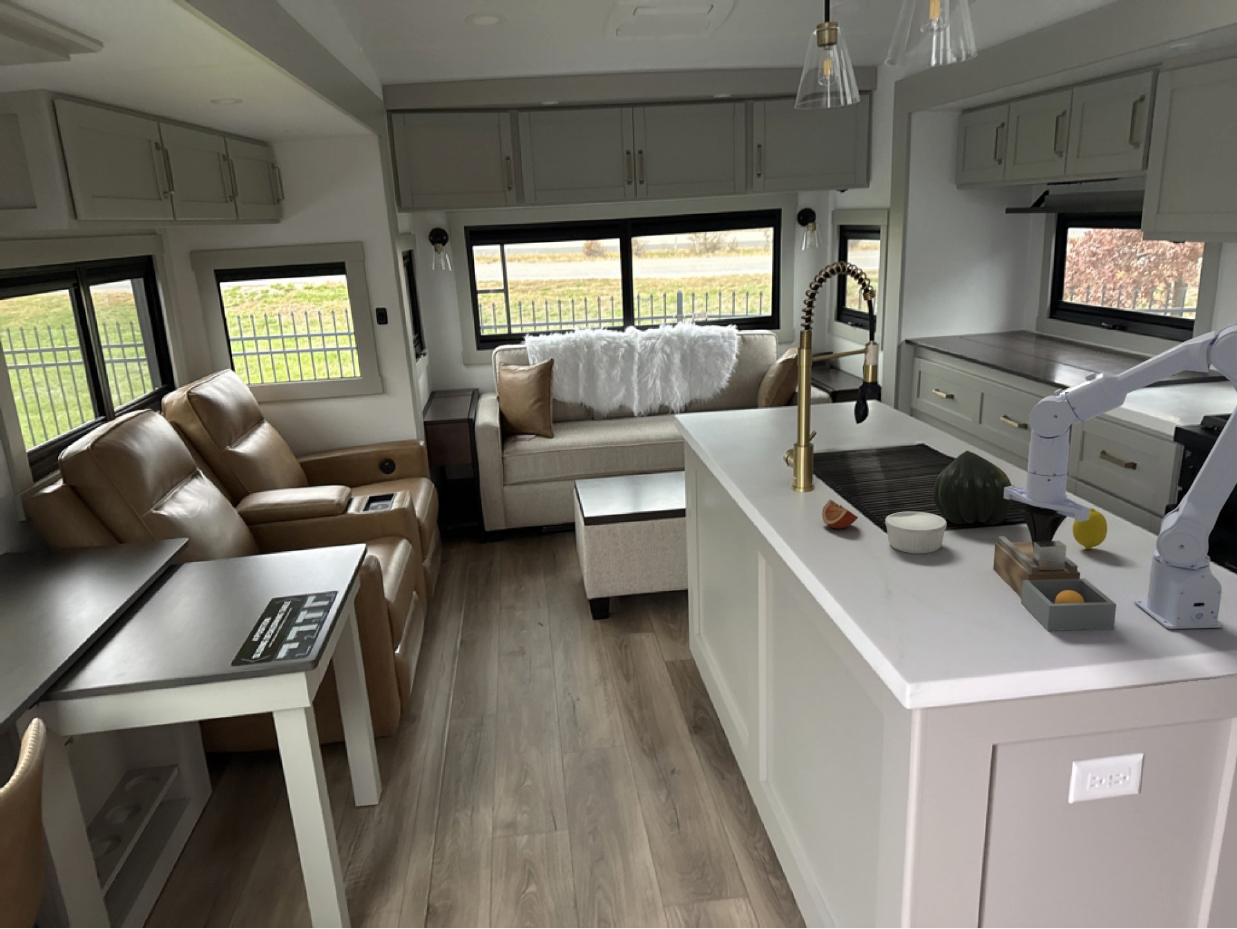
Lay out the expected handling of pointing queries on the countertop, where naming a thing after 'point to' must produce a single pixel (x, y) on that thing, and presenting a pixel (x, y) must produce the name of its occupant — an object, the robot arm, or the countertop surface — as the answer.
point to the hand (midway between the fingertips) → (1040, 550)
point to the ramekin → (915, 531)
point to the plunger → (1049, 555)
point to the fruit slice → (837, 515)
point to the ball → (1069, 597)
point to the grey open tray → (1068, 605)
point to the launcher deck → (1025, 565)
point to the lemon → (1090, 530)
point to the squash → (972, 491)
